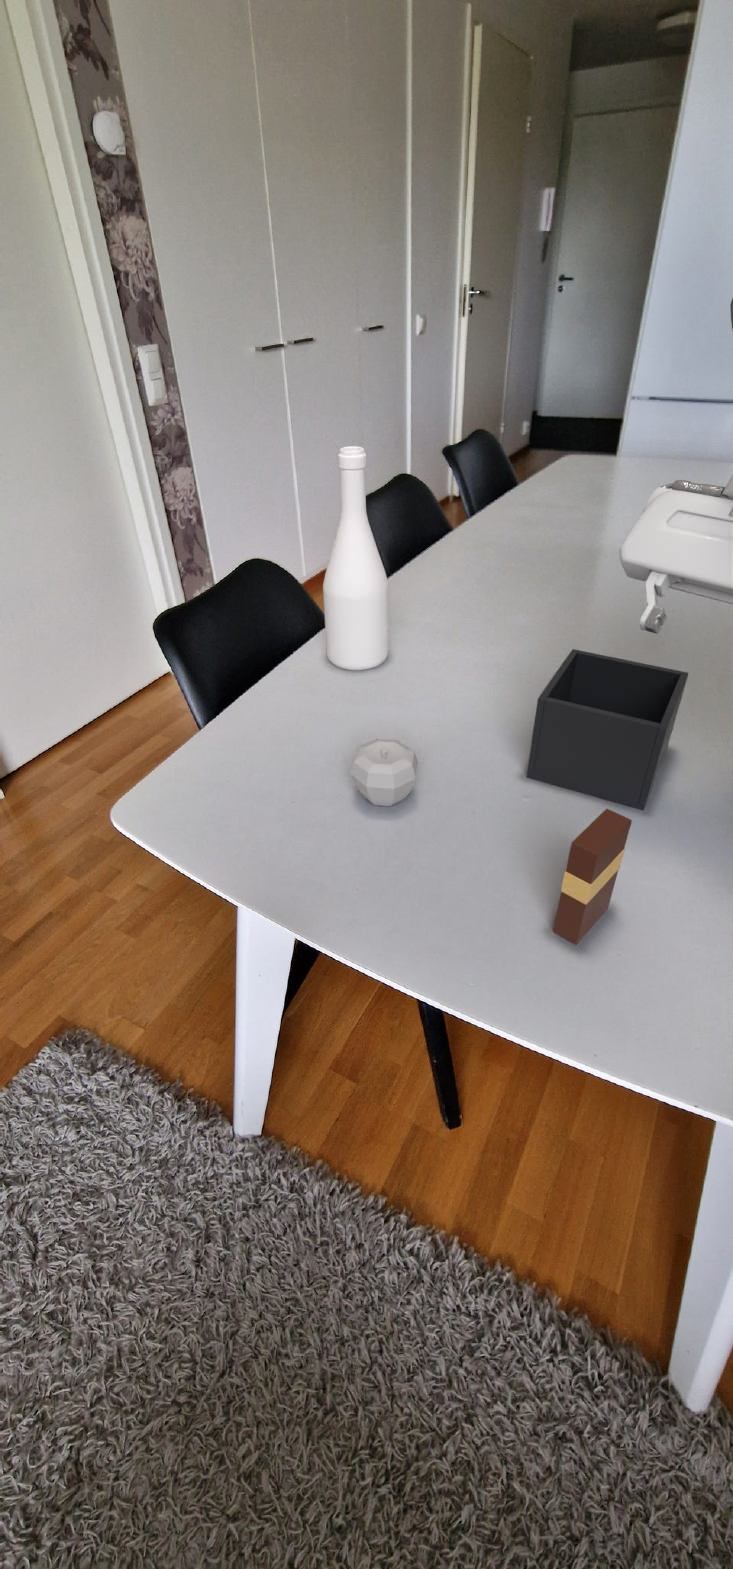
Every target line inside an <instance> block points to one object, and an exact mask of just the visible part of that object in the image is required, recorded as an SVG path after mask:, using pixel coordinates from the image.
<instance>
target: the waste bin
mask: <svg viewBox="0 0 733 1569" xmlns="http://www.w3.org/2000/svg"><path fill="white" fill-rule="evenodd" d="M688 678H689V672H687V671H682V670H678V669H672V668H667V667H663V666H657V665H653V664H647V663H643V662H638V661H633V660H630V659H629V660H628V659H623V658H618V657H614V656H609V655H604V654H599V653H594V652H590V651H589V652H588V651H583V650H579V649H576V648H572V649H571V650H570V652H569V653H568V655H567V656H566V658H565V659H564V660H563V662H562V663H561V664H560V666H559V667H558V669H557V670H556V672H555V673H554V675H553V676H552V678H551V679H550V680H549V682H548V683H547V685H546V687H545V688H544V689H543V690H542V692H541V693H540V695H539V696H538V697H537V700H536V701H537V702H536V709H535V715H534V721H533V730H532V734H531V735H532V736H531V742H530V749H529V757H528V761H527V762H528V763H527V768H526V769H527V771H526V775H525V776H526V778H528V779H532V780H535V781H537V782H538V781H539V782H542V783H546V784H549V785H552V786H556V787H559V788H564V789H566V790H571V791H574V792H577V793H580V794H585V795H588V796H590V797H591V796H592V797H595V798H597V799H602V800H605V801H609V802H612V803H616V804H619V805H624V806H626V807H630V808H633V809H637V810H639V811H645V808H646V806H647V803H648V801H649V798H650V795H651V793H652V790H653V787H654V785H655V782H656V780H657V777H658V774H659V772H660V769H661V766H662V763H663V761H664V758H665V755H666V753H667V750H668V746H669V743H670V739H671V736H672V733H673V731H674V730H673V729H674V726H675V722H676V720H677V719H676V718H677V715H678V712H679V708H680V705H681V702H682V698H683V695H684V692H685V688H686V684H687V680H688Z"/></svg>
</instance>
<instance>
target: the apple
mask: <svg viewBox="0 0 733 1569" xmlns="http://www.w3.org/2000/svg"><path fill="white" fill-rule="evenodd" d="M418 764H419V761H418V758H417V754H416V752H415V751H414V749H412V748H410V747H408V745H406V744H405V743H403V742H401V741H400V740H396V739H383V738H382V739H381V738H380V739H379V738H377V739H374V740H372V741H369V742H367V743H365V744H362V745H360V746H358V747H356V750H355V754H354V757H353V760H352V765H351V768H350V772H349V774H350V777H351V779H352V781H353V783H354V786H355V788H356V789H357V790H358V792H359V793H360V794H361V795H362V796H363V797H364V798H365V799H366V800H367V801H368V802H370V803H371V804H372V805H374V806H378V807H392V806H394V805H396V804H398V803H400V802H401V801H403V800H405V799H406V798H407V796H408V795H409V794H410V793H411V792H412V789H413V787H414V784H415V781H416V779H417V772H418Z"/></svg>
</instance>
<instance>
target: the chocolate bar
mask: <svg viewBox="0 0 733 1569" xmlns="http://www.w3.org/2000/svg"><path fill="white" fill-rule="evenodd" d="M632 822H633V820H632V819H631V818H628V817H626V816H624V815H621V814H619V813H617V812H615V811H613V810H611V809H609V808H605V810H603V811H602V812H601V813H600V814H599V815H598V816H597V817H596V818H595V819H594V820H593V821H592V822H591V823H590V824H589V825H588V826H587V827H586V828H585V829H583V831H582V832H580V834H579V835H577V837H576V838H574V840H572V841H571V842H570V843H571V844H570V849H569V853H568V858H567V864H566V868H565V871H564V873H563V877H562V881H561V882H562V883H561V888H560V897H559V901H558V904H557V910H556V914H555V918H554V919H555V920H554V925H553V929H552V932H553V933H554V934H556V935H558V936H560V938H561V937H562V938H563V939H565V940H567V942H569V943H571V944H573V945H575V946H576V945H577V944H579V943H580V941H581V940H582V939H583V938H584V937H585V936H586V934H587V933H589V931H590V930H591V928H592V927H594V925H595V924H596V923H597V922H598V921H599V920H600V919H601V917H602V916H603V915H604V914H605V913H606V911H607V910H609V906H610V902H611V899H612V895H613V891H614V888H615V884H616V880H617V877H618V873H619V869H620V868H621V865H622V861H623V858H624V854H625V850H626V848H625V847H626V844H627V839H628V836H629V834H630V828H631V825H632Z"/></svg>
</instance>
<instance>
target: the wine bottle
mask: <svg viewBox="0 0 733 1569" xmlns="http://www.w3.org/2000/svg"><path fill="white" fill-rule="evenodd" d="M337 461H338V465H337V466H338V468H339V469H340V517H339V523H338V527H337V530H336V534H335V538H334V541H333V544H332V549H331V553H330V556H329V559H328V563H327V567H326V569H325V574H324V578H323V584H322V596H323V610H324V612H323V613H324V614H323V615H324V630H325V647H326V655H327V658H328V661H329V662H331V663H332V664H333V665H334V666H336V667H337V668H340V669H343V670H347V671H364V670H365V671H366V670H371V669H373V668H376V667H378V666H380V665H382V663H384V662H385V661H386V660H387V657H388V656H389V580H388V577H387V573H386V570H385V567H384V564H383V562H382V559H381V556H380V553H379V549H378V546H377V544H376V541H375V538H374V533H373V532H372V529H371V525H370V522H369V519H368V518H369V517H368V514H367V501H366V500H367V499H366V498H367V497H366V476H365V475H366V474H365V468H366V467H367V453H366V452H365V448H364V447H362V446H355V445H352V446H351V445H350V446H344V447H341V448H339V453H338V454H337Z"/></svg>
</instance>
